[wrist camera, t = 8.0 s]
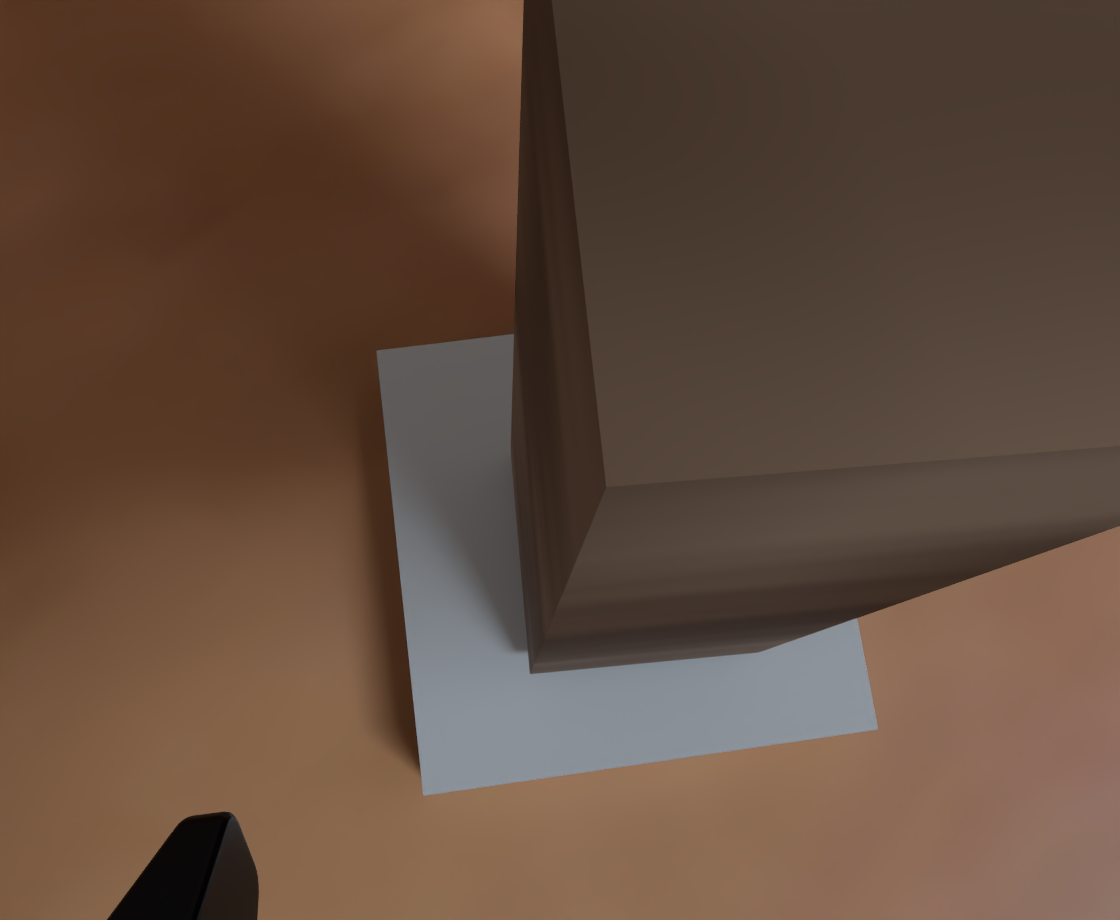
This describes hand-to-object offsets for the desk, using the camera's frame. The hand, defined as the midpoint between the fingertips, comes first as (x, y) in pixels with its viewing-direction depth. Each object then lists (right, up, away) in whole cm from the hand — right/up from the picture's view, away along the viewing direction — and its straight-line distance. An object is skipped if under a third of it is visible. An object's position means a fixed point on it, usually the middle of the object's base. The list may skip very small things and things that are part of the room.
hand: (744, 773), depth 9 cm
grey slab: (-1, +1, +11) cm, 11 cm away
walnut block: (0, +1, +9) cm, 9 cm away
